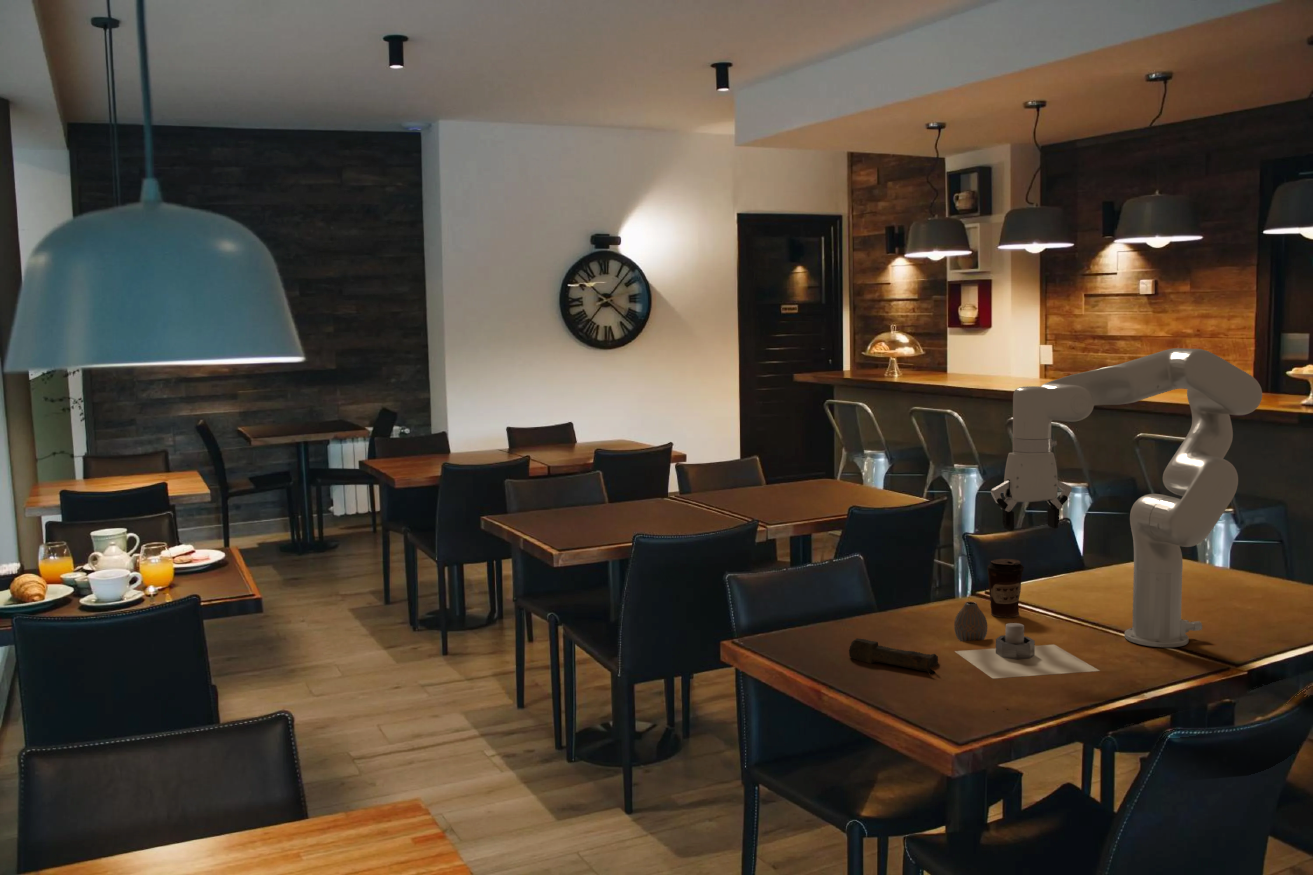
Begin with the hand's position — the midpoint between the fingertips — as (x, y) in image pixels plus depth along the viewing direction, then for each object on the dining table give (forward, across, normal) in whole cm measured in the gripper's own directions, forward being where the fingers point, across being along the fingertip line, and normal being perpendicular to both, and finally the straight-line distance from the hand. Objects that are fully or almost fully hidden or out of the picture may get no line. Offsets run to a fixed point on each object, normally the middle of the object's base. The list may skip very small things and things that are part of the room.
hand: (1030, 528), depth 230 cm
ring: (+25, +6, +6) cm, 26 cm away
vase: (+26, +9, -9) cm, 29 cm away
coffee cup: (+26, -8, -28) cm, 39 cm away
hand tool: (+27, +32, +3) cm, 41 cm away
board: (+26, +6, +10) cm, 29 cm away
